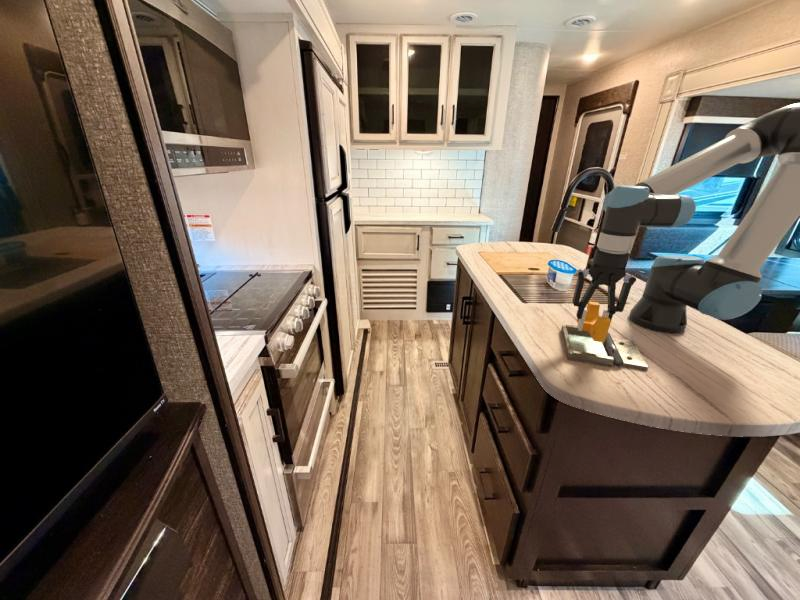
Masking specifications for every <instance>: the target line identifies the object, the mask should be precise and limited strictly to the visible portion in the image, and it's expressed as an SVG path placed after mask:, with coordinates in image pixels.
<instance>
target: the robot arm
mask: <svg viewBox="0 0 800 600" xmlns="http://www.w3.org/2000/svg"><path fill="white" fill-rule="evenodd" d="M776 155H777V160H778V162H779V164H780V166H779V167H778V169H777V170H776V171H775V173H774V175H773V176H772V177H771V179H770V180H769V182H768V183H767V184H766V186H765V187H764V189H763V190H762V191H761V193H760V194H759V196H758V198H756V200H755V201H754V203H753V205H751V207H750V208H749V210H748V212H747V213H746V214H745V216H744V217H743V219H742V220H741V221H740V223H739V225H737V227H736V229H735V230H734V232H733V233H732V234H731V236H730V237H729V239H728V240H727V241H726V243H725V244H724V245H723V247H722V249H721V250H720V252H719V253H718V254H717V255H716V256H714V257H711V258H707V259H706V260H705V259H704V258H703V257H699V256H691V255H683V254H661V255H658V256H656V258H654V261H653V263H652V265H651V266H650V270H649V274H648V277H647V280H646V282H645V286H644V289H643V293H642V296H641V298H640V299H638V301H637V302H636V304H634V306H633V307H632V308H631V310H630V313H629V315H628V318H629V320H630V321H631V322H632V323H633V324H636V325H637V326H639V327H642V328H643V329H646V330H649V331H653V332H657V333H662V334H670V335H671V334H673V335H674V334H677V335H678V334H681V333H683V332H685V330H686V328H687V325H688V317H687V306H688V307H689V308H692V309H694V310H696V311H697V312H700V313H701V314H703V315H706V316H709V317H712V318H714V319H717V320H725V321H726V320H732V319H736V318H738V317H741V316H744V315H745V314H748V313H749V312H750V311H752V310H753V309H754V308H755V307H756V306H757V305H758V303H760V301H761V299H762V297H763V296H762V294H763V289H762V287H761V286H760V284H759V282H760V281H761V280H762V278H763V276H762V274H761V272H760V268H761V267H762V266H763V264H764V263H765V261H767V259H768V258H769V256H770V255H771V253H772V252H774V250H775V248H776V247H778V244H779V243H780V242H781V241H782V239H784V236H785V235H786V234H787V233H788V232H789V230H790V229H791V228H792V226H793V225H794V224H795V222H796V221H797V220H798V218H799V217H800V102H797V103H792V104H789V105H788V104H787V105H786V106H783V107H780V108H777V109H774V110H772V111H769V112H767V113H765V114H763V115H760V116H758V117H757V118H755V119H752V120H750V121H748V122H746V123H744V124H742V125H740V126H738V127H737V128H735V129H733V130H731V131H729V132H728V133H727V134H726V135H725V137H724V138H723V139H721V140H720V141H717V142H715V143H713V144H712V145H710V146H708V147H705V148H704V149H702V150H700V151H698V152H696V153H694V154H692V155H691V156H689V157H687V158H684V159H683V160H680V161H678V162H677V163H674V164H673V165H671V166H668V167H667V168H665V169H663V170H661V171H659V172H657V173H655V174H653V175H652V176H650V177H648V178H646V179H644V180H642V181H640V182H638V183H636V184H634V185H627V184H626V185H625V184H624V185H623V184H622V185H621V184H619V185H617V186H616V185H615V186H614V187H613V188H612V190H611V191H609V192H608V193H607V194H606V195H605V196H604V199H603V201H602V207H603V210H604V217H603V220H602V225H601V229H600V232H599V236H598V241H597V244H596V247H597V248H596V249H595V251H594V255H593V258H592V261H591V265H590V266H589V267H588V268H587V269H577V270H576V274H577V279H576V284H575V290H574V293H573V296H572V304H573V306H574V307H578V308H577V312H576V320H577V319H579V322H577V325H576V326H577V327H578V330H579V331H582V328H583V325H584V321H585V318H586V314H587V305H588V302H590V300H591V299H592V297H593V295H594V293H595V292H596V290H597V289H598V288H599V286H607V308H603V311H602V314H601V317H608V318H610V320H611V321H612V319H613V317H614V315H615V314H616V313H622V312H624V309H625V307H626V303H627V301H628V298H629V294H630V292H631V289H632V287H633V285H634V284H635V283H636V282H637V278H636V277H635V276H634V275H633V274H628V273H627V271H626V268H627V265H628V263H629V258H630V255H631V254H630V253H629V252H631V251H632V249H633V247H634V246H633V245H634V242H635V238H636V235H637V233H638V230H639V228H641V227H642V228H643V227H650V228H651V227H653V228H654V227H657V228H659V227H660V228H663V227H664V228H674V227H683V226H685V225H686V224H688V223H689V222H691V220H692V219H693V217H694V214H695V212H696V208H697V206H696V202H695V200H694V199H693V197H691V196H689V195H684V194H683V195H681V194H680V193H682V192H683V191H686V190H688V189H690V188H692V187H693V186H696V185H698V184H700V183H701V182H703V181H705V180H707V179H710V178H711V177H713V176H716V175H717V174H721V173H722V172H724V171H726V170H728V169H730V168H731V167H734V166H735V165H738V164H748V163H750V162H753V161H755V160H756V159H758V158H764V157H769V156H776ZM588 276H590V277H591V280H590V283H589V285H588V287H587V289H586V290H585V292H584V294H583V295H582V293H583V292H582V291H583V288H584V284H585V279H586V278H587V277H588ZM621 280H623V283H622V286H621V288H620V289H621V290H620V293H619V294H618V298H617V301H616V289H617V287H616V286H617V283H618V282H619V281H621ZM581 295H582V298H581Z"/></svg>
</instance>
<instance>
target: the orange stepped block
mask: <svg viewBox="0 0 800 600" xmlns="http://www.w3.org/2000/svg"><path fill="white" fill-rule="evenodd" d="M600 307H601V304H600V303H599V302H597V301H596V302H595V301H589V302H588V304H587V305H586V308H587V314H586V318H585V321H584V325H583V328H582V330H583V331H589V333H590V335H591V337H592V339H593V341H597V342H602V343H604V342H605V339H606V336H607V333H609V330H610V326H611V323H612V320H610V318H608V317H602V316H600ZM578 322H579V319H577V318H576V323H578Z"/></svg>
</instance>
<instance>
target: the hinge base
mask: <svg viewBox="0 0 800 600" xmlns="http://www.w3.org/2000/svg"><path fill="white" fill-rule="evenodd" d="M577 326H578V325H571V324H564V325H563V324H562V326H561V329H560V331H561V336H562V340H563V346H564V351H565V354H566V359H567V360H568V361H574V362H581V363H585V364H591V365H597V366H603V367H608V368H612V366H615V367H626V368H632V369H637V370H642V371H643V370H644V371H648V369H649V366H648V364H647V362H646V361H645V358H644V357H643V356H642V355H641V353H640V351H639V349H638V348H637V345H636V344H635V342H634V340H630V339H623V338H617V337H612V335H611V334H610V332H608V333H607V336H606V339H605V342H597V341H593V339H592V337H591V335H590V333H589V331H583V330H582V331H579V330H578V327H577Z"/></svg>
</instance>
